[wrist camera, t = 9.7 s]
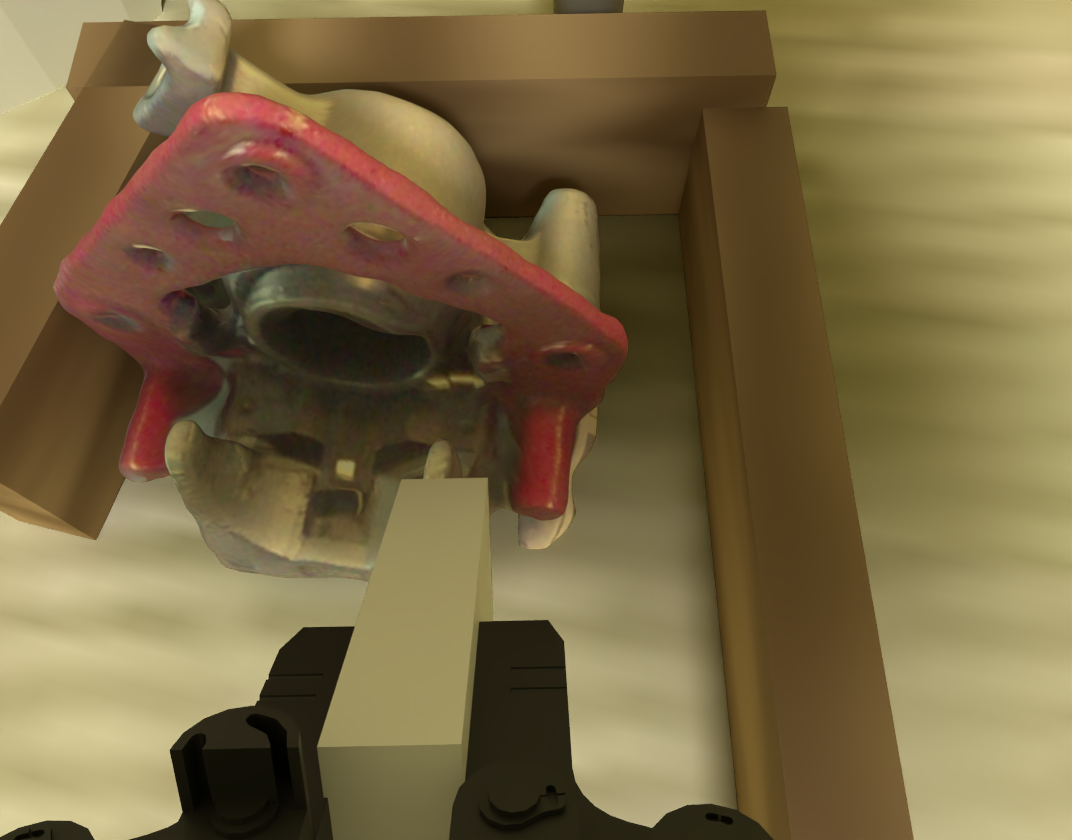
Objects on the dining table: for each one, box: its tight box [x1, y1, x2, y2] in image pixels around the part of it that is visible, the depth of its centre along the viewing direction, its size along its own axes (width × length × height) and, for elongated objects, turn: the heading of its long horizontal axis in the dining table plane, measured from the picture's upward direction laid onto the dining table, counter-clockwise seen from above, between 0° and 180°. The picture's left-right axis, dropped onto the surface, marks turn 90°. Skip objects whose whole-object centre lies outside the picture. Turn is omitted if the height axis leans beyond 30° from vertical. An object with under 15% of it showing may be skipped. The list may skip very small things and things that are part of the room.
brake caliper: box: [53, 0, 628, 582], centre depth 19 cm, size 11×11×12 cm
